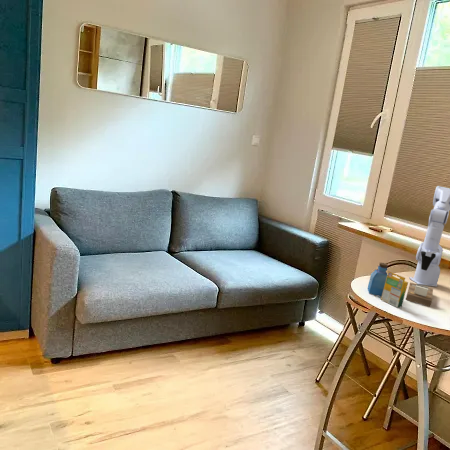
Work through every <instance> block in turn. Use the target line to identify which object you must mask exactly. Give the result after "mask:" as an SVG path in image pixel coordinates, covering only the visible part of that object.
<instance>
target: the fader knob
mask: <svg viewBox="0 0 450 450" xmlns="http://www.w3.org/2000/svg"><path fill="white" fill-rule="evenodd" d="M415 284H416V287H415V291H414V293H415V294H418V295H422V296H425V297H426V295H427V292H428V287H429V286H427V285H419V284H417V283H415Z"/></svg>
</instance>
